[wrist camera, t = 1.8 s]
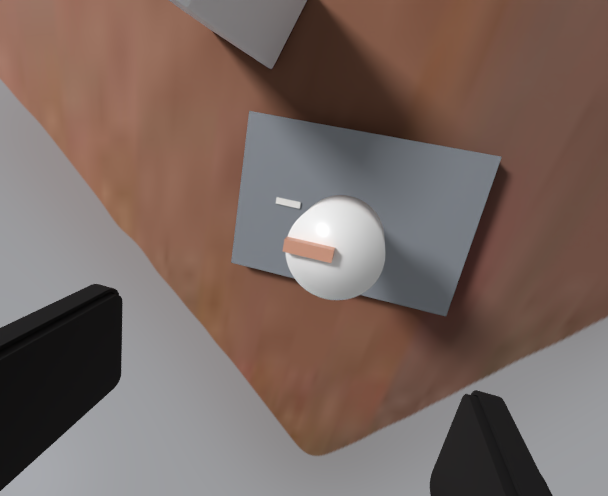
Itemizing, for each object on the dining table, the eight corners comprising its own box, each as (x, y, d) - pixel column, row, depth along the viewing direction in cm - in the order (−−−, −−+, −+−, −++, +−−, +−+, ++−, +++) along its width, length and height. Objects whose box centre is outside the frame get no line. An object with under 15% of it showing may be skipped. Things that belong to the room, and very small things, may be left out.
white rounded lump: (394, 205, 23) (397, 218, 19) (372, 286, 25) (371, 315, 20) (307, 187, 24) (291, 195, 19) (293, 266, 26) (275, 290, 21)
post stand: (493, 156, 30) (546, 159, 20) (442, 307, 35) (466, 366, 25) (256, 113, 33) (208, 98, 24) (238, 256, 38) (192, 292, 28)
